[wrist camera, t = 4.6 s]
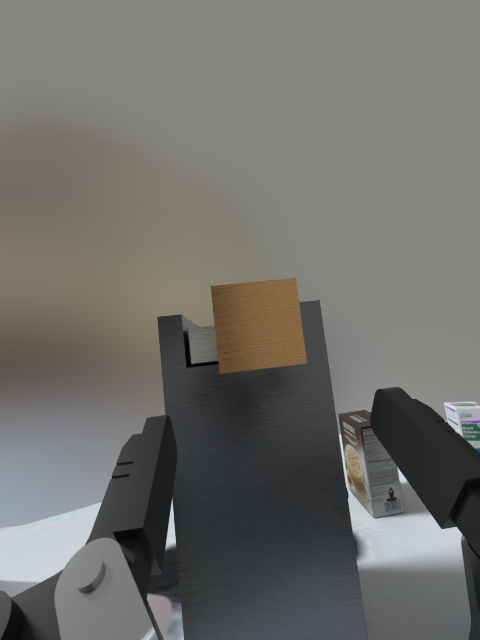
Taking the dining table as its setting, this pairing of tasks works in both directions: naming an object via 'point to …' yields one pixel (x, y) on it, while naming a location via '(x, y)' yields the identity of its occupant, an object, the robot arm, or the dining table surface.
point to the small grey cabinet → (260, 496)
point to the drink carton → (465, 420)
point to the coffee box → (369, 466)
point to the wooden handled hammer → (252, 327)
